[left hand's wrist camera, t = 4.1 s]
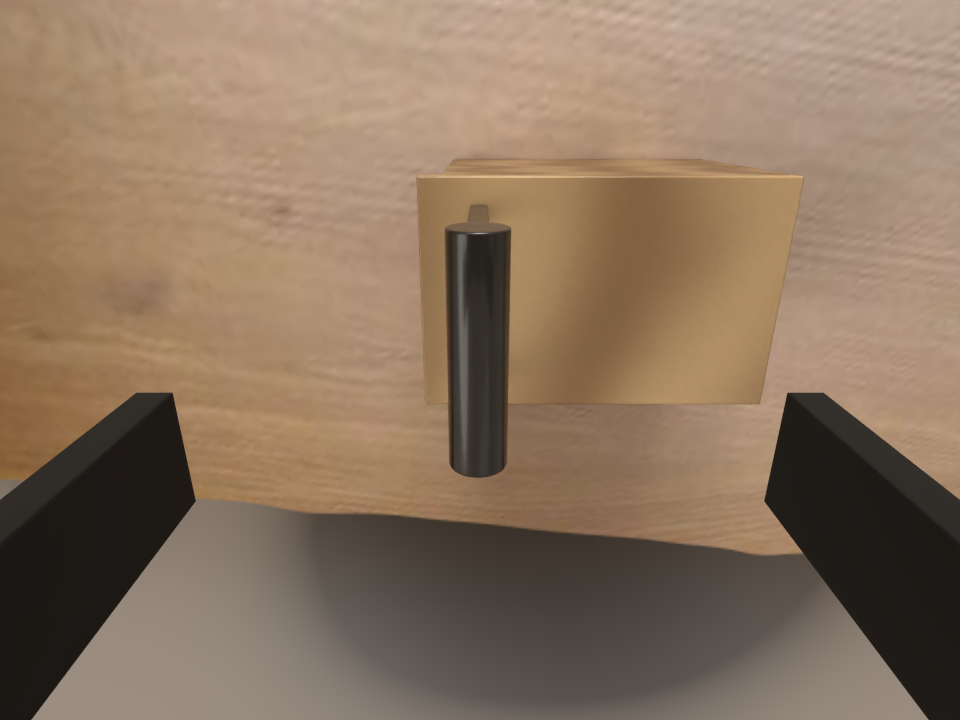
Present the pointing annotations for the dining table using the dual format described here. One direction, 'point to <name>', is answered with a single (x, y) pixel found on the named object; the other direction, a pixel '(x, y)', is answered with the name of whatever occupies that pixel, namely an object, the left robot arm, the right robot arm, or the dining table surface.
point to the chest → (598, 167)
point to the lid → (595, 293)
